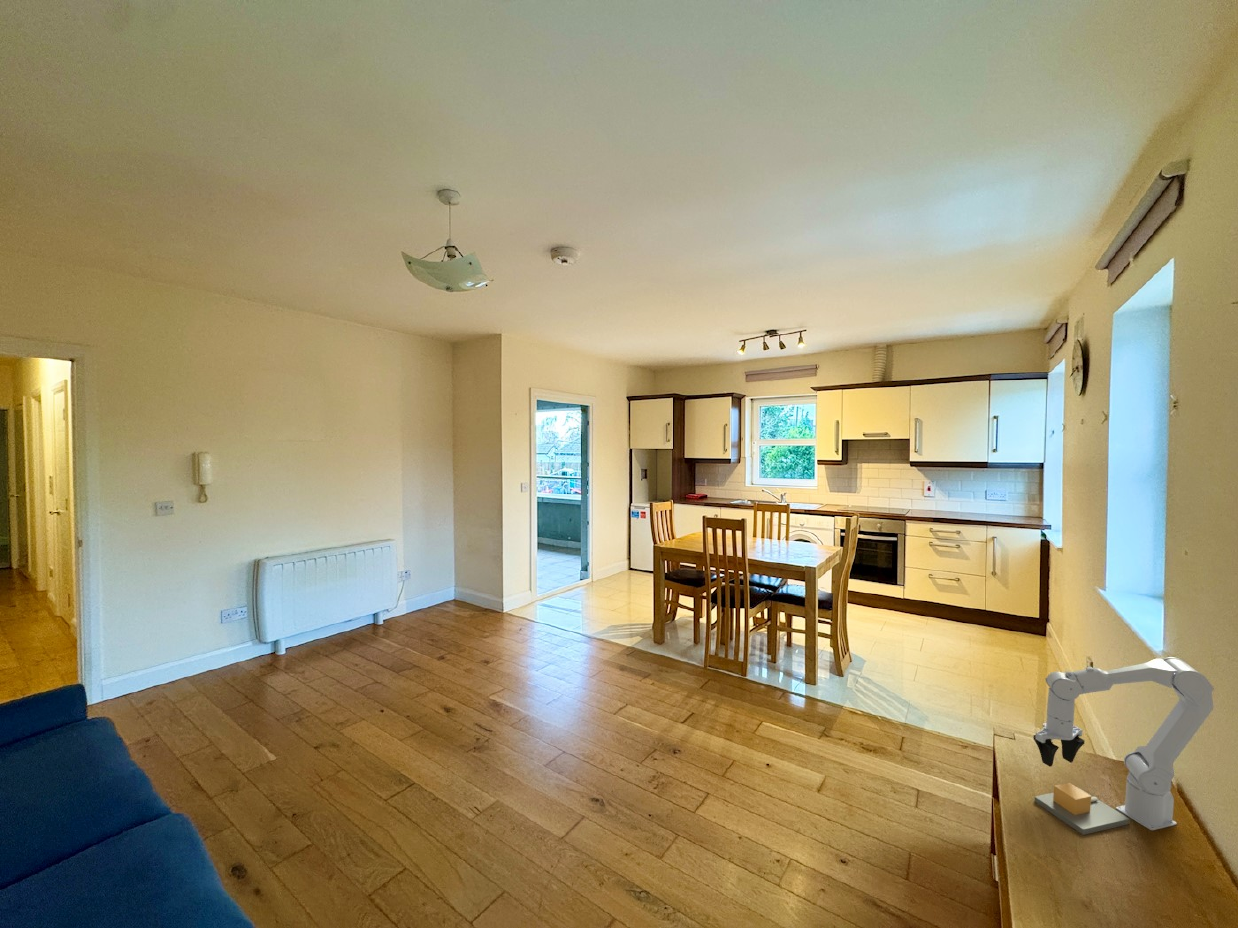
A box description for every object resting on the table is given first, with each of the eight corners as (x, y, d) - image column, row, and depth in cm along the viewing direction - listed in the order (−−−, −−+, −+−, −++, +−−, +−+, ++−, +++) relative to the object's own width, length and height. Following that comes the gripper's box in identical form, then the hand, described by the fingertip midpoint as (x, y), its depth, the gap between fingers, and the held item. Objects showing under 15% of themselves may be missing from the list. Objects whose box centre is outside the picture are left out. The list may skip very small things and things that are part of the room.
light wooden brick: (1067, 797, 140) (1068, 782, 139) (1090, 811, 134) (1091, 796, 134) (1053, 800, 138) (1054, 785, 138) (1075, 814, 133) (1076, 799, 133)
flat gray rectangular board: (1077, 792, 144) (1078, 777, 144) (1128, 823, 132) (1130, 807, 132) (1034, 801, 140) (1035, 785, 140) (1082, 834, 128) (1084, 818, 128)
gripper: (1064, 705, 147) (1061, 749, 148) (1025, 711, 144) (1023, 756, 145) (1091, 718, 140) (1088, 765, 141) (1051, 725, 137) (1049, 773, 138)
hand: (1057, 762), depth 143 cm, fingers open, 7 cm apart
